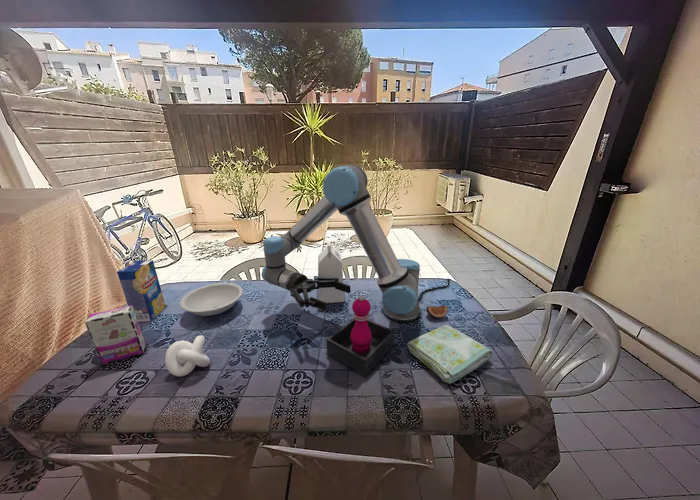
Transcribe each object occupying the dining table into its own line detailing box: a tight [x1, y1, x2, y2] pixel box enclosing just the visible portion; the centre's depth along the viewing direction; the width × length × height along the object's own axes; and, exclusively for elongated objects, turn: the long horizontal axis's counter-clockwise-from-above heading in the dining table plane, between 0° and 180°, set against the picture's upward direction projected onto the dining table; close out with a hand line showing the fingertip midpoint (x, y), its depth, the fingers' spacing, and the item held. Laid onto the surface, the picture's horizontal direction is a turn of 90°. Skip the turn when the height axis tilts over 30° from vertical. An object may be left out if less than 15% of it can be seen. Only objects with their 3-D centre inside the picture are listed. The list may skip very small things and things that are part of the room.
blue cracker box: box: [116, 259, 167, 323], centre depth 110 cm, size 7×11×22 cm, turn 7°
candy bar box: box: [84, 305, 147, 365], centre depth 88 cm, size 11×5×16 cm, turn 118°
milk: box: [317, 240, 345, 304], centre depth 122 cm, size 12×12×26 cm
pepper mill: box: [350, 294, 372, 353], centre depth 89 cm, size 7×7×20 cm
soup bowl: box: [179, 282, 244, 317], centre depth 116 cm, size 24×24×7 cm
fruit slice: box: [426, 305, 449, 319], centre depth 110 cm, size 8×7×5 cm
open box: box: [326, 317, 396, 377], centre depth 92 cm, size 18×16×6 cm
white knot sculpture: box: [164, 334, 211, 378], centre depth 85 cm, size 11×12×9 cm
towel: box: [406, 324, 493, 385], centre depth 89 cm, size 18×21×5 cm
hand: (338, 297), depth 92 cm, fingers open, 13 cm apart
